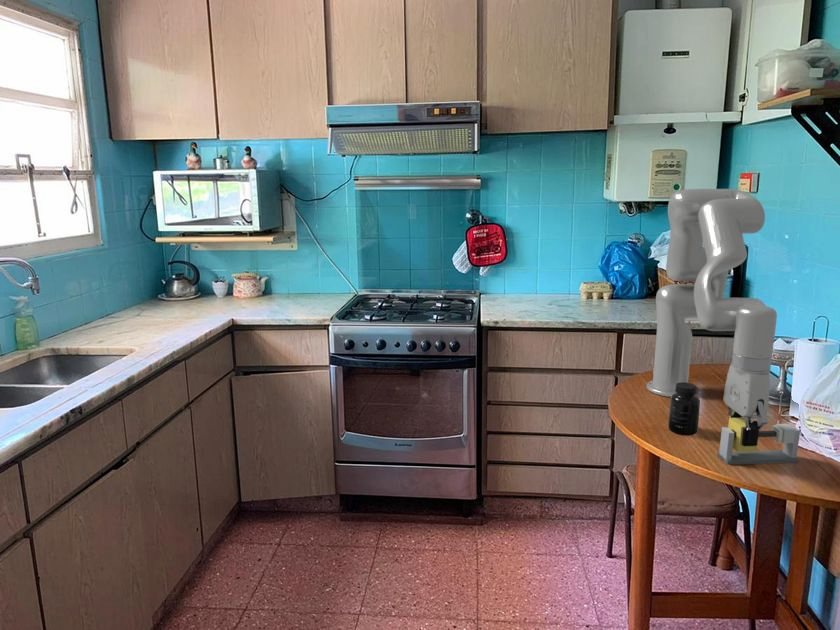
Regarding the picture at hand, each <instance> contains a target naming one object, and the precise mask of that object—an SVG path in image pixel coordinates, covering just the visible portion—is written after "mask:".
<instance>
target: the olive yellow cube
mask: <svg viewBox="0 0 840 630" xmlns="http://www.w3.org/2000/svg"><path fill="white" fill-rule="evenodd" d="M752 422H753V420H751V423H752ZM727 426H728V428H729V429H730V430H731V431H733V432H737V434H736V438H734V441H733V450H735V452H756V451H758V450H757V448H758V445H757V446H743V445H742V436H743V428H746V425H745V417H743V418H731V417H729V418H728V425H727Z"/></svg>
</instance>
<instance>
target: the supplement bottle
mask: <svg viewBox="0 0 840 630" xmlns="http://www.w3.org/2000/svg"><path fill="white" fill-rule="evenodd" d="M697 388H698V387H697V385H696V384H694V383H691V382H688V383H685V382H681V383H677V384H676V388H675V392H676V393H674V394H673V395H672V396H671V397H669V398H670V399H669V401H670V402H669V411H668V430H669V431H670V432H671V433H673V434H676V435H679V436H685V437H686V436H687V437H688V436H693V435H695V434H697V433H698V431H699V419H700V418H699V417H700V408H701V407H700V406H701V399H700V398H699V397H698V395H697V393H698V391H697V390H698V389H697Z"/></svg>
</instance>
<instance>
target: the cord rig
mask: <svg viewBox="0 0 840 630" xmlns="http://www.w3.org/2000/svg"><path fill="white" fill-rule="evenodd" d="M736 434H737V432H733V431H731V430H730V429H729V428H728V427H726V426H725V427H724V426H722V427H721V434H720V443H719V444H720V445H719V450H718V452H717V454H716V455H717V456H718V458H720V460H721V461H723V463H725V464H726V465H755V464H783V463H784V464H785V463H789V464H790V463H799V458H798V457H797V456H798V450H799V449H798V448H799V443H800V437H801V436H800V434H801V430H799V428H797V427H795V426H793V425H792V424H791V425H789V424H788V423H776V424H773V425H771V429H770V430H759V434H758V438H771V439H773V440H774V441H776V442H777V443H782V444H783V449H782V450H756V452H737V451H733V450H734V448H733V441H734V438H736Z"/></svg>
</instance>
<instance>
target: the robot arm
mask: <svg viewBox="0 0 840 630" xmlns="http://www.w3.org/2000/svg"><path fill="white" fill-rule="evenodd" d="M667 216H668V222H669V229H670V233H669V235H670V236H669V241H668V248H667V255H666V264H665V271H666V276H667V277H668V278H669V279H670V280H672V281H676V282H694V284H693V283H675V284H673V283H672V284H668V285H664V286H661V287H660V288H659V289H658V290H657V292H656V296H655V309H656V320H657V321H656V337H655V351H654V364H653V371H652V375H653V376H652V377H653V378H652V380H650V381H649V382H647V384H646V389H647V390H648V392H649V391H650V392H651V393H653V394H656V395H657V396H661V397H669V398H671V396H672V395H673V394H674V393H676V392H675V388H676V384H677V383H681V382H685V383H689V375H690V363H691V353H692V345H693V344H692V341H693V333H692V329H691V327H690V326H689V325H688V324H687V322H686V321H685V319H691V318H693V319H696V318H697V319H698V322H699V324H700V326H701V327H702V328H703V329H704V330H706V331H711V332H733V331H734V336H733V346H732V353H731V354H732V355H731V363H730V366H729V368H728V370H727V375H726V380H725V385H724V391H723V398H722V399H723V402H724V404H725V405H726V406H727V408H728V417H729V418H744V417H745V425H746V428H743V436H742V445H743V446H757V447H758V440H759V437H758V434H759V431H762V427H764V426H766V425H767V424H768V422H769V420H768V417H767V413H768V410H769V402H770V384H771V383H770V373H771V367H772V360H773V359H772V358H773V353H774V344H775V335H776V326H777V318H778V314H777V311H776V310H775V309H774V307H771V306H768V305H766V304H765V303H764V302H763V301H762V300H761V299H759V298H755V297H724V296H725V292H726V291H725V290H726V287H727V286H726V285H727V281H728V275H729V271H730V270H731V269H732V270H733V268H734V269H735V268H737V267H738V266H740V265H742V263H744V262H745V260H746V259H747V257H748V252H747V249H746V248H747V247H746V244H745V240H744V235H745V234H746V235H747V234H750V235H751V234H757V233H758V232H760V231H761V230H762V228H763V227H764V225H765V221H766V213H765V209H764V207H763V204H762V203H761V202H760V201H759V200H758V199H757V198H756V197H755V196H752V195H751V194H749V193H746V192H744V191H742V190H740V189H737V188H736V189H735V188H692V189H691V188H689V189H682V190H677V191H676V192H674V193H672V195H671V196H670V197H669V201H668V204H667ZM743 234H744V235H743ZM751 419H754V420H751ZM751 421H752V423H751Z"/></svg>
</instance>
